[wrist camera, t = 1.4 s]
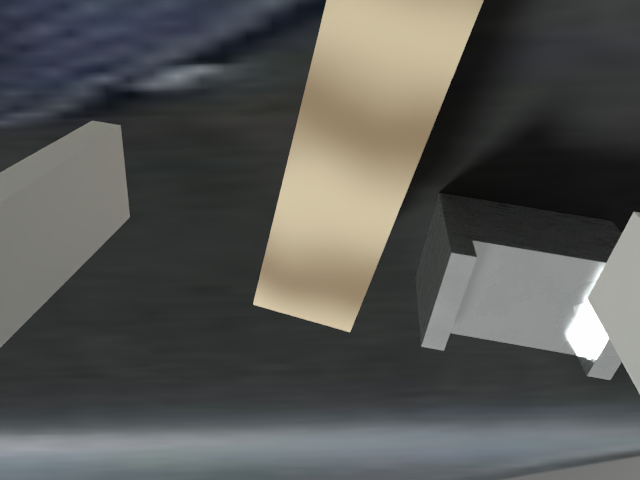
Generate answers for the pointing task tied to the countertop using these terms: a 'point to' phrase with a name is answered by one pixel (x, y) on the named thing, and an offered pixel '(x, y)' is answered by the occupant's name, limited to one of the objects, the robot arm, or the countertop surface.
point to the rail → (357, 149)
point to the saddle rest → (515, 278)
